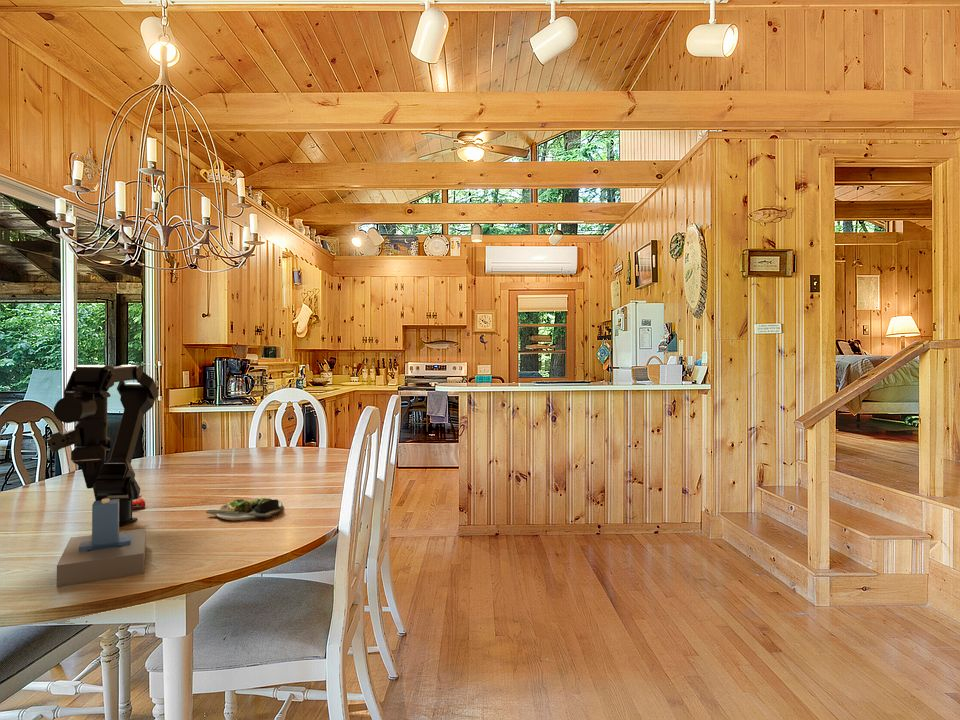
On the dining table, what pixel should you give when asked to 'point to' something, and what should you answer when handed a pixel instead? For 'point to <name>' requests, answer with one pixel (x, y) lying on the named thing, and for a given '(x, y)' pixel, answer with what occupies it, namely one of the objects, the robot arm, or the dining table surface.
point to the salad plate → (248, 509)
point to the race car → (138, 503)
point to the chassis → (101, 560)
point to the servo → (105, 527)
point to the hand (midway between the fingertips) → (92, 484)
